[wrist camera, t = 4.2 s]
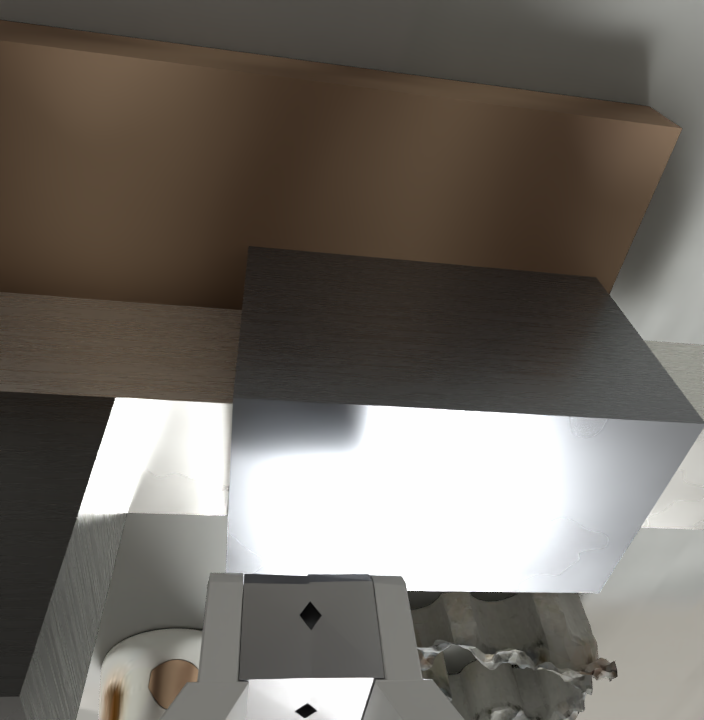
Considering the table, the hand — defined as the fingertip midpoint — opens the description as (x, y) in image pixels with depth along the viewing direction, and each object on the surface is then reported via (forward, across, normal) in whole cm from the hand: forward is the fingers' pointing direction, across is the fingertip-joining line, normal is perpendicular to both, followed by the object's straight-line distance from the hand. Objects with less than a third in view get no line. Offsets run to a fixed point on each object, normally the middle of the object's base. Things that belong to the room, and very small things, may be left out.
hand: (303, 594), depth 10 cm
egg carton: (+9, -8, +16) cm, 20 cm away
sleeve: (+7, -3, 0) cm, 7 cm away
